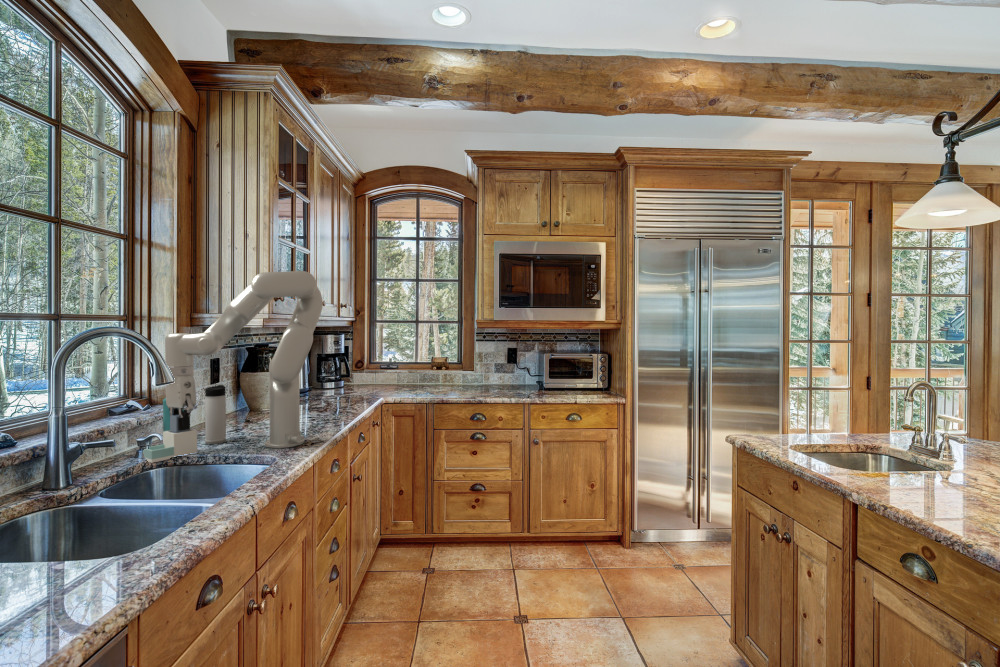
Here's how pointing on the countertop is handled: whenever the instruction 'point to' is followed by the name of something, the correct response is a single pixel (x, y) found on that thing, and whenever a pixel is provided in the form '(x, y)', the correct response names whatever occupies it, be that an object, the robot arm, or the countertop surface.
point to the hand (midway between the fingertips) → (180, 428)
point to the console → (172, 446)
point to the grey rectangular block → (175, 424)
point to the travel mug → (215, 415)
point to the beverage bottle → (166, 416)
